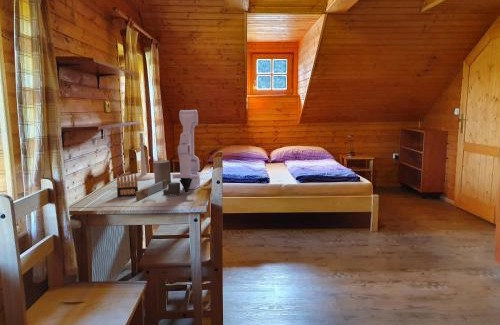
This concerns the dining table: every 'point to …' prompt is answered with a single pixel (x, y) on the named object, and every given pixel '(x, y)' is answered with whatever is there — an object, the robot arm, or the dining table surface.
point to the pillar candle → (162, 171)
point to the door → (155, 188)
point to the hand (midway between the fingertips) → (186, 192)
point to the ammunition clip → (127, 186)
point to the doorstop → (172, 189)
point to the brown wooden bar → (144, 192)
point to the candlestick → (143, 163)
